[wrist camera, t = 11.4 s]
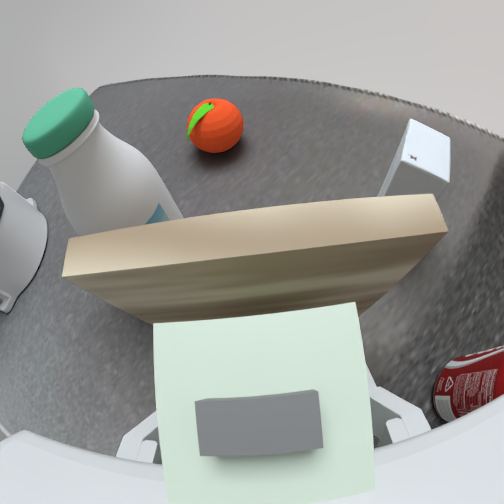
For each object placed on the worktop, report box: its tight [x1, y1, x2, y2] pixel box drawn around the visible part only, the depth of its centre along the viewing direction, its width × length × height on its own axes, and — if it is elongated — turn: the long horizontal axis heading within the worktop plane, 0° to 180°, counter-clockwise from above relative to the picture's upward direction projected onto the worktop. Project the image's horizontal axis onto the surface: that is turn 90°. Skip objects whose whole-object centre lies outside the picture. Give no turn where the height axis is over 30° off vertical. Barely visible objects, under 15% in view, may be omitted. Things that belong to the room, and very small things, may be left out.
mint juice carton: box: [153, 302, 375, 504], centre depth 10 cm, size 5×5×13 cm
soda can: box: [433, 345, 504, 422], centre depth 15 cm, size 7×7×12 cm
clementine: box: [187, 99, 243, 153], centre depth 32 cm, size 8×7×7 cm
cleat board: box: [62, 194, 448, 325], centre depth 15 cm, size 11×14×18 cm
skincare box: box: [377, 119, 450, 202], centre depth 23 cm, size 6×4×12 cm
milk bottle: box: [22, 88, 184, 236], centre depth 20 cm, size 8×8×20 cm
